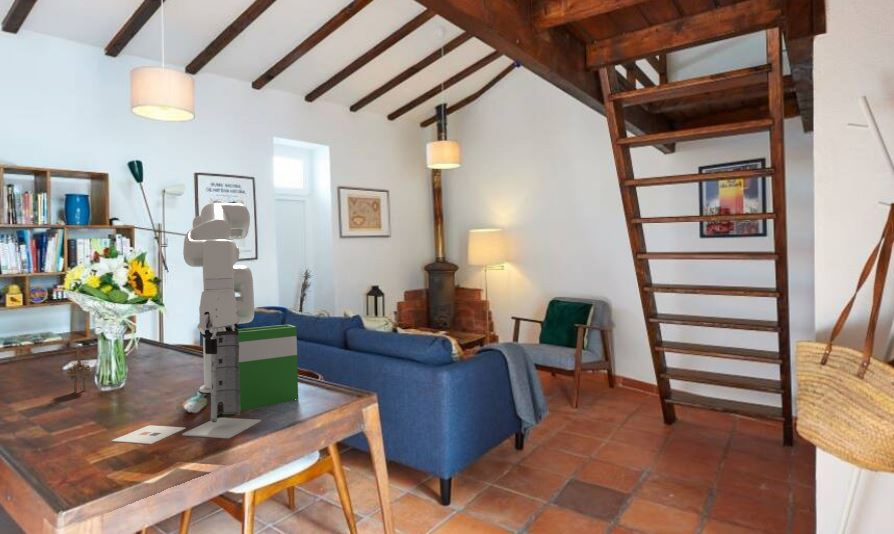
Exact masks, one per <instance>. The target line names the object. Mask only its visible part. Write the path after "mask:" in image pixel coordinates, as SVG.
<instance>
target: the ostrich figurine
mask: <svg viewBox="0 0 894 534" xmlns="http://www.w3.org/2000/svg"><path fill="white" fill-rule="evenodd" d="M81 349H82V347H81V345H80V344H78V345H76V352H77V353H76V354H77V360H76V361H77V362H76V363H73V365H72V366H68V367H67V371H66V378H69V379H70V380H72V379H73V380H72V381H73V393H77V392H78V385H77V384H78V379H80V378H82V392H86V391H87V382H86V381H87V378H88V377H89V375H92V373H93V371H92V369H91V366H90V365H89V364H85V363H84V362H82V359H81V358H82V357H81V356H82V355H81V354H82V353H81Z"/></svg>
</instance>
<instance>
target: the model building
mask: <svg viewBox="0 0 894 534" xmlns="http://www.w3.org/2000/svg"><path fill="white" fill-rule="evenodd" d="M238 329H239V328H238V327H237V328H234V330H235V331H220V332H216V336H215V339H217V354H211V374H212V375H211V393H210V419H209V421H212V422H217V419H218V418H233V417H236V415H237V416H240V415H241V411H240V388H239V387H240V386H239V333H238ZM232 345H234V346H232Z"/></svg>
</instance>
